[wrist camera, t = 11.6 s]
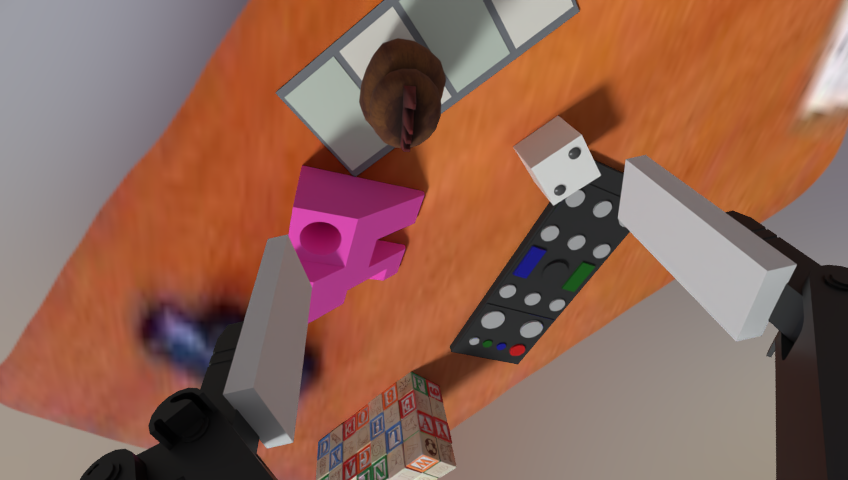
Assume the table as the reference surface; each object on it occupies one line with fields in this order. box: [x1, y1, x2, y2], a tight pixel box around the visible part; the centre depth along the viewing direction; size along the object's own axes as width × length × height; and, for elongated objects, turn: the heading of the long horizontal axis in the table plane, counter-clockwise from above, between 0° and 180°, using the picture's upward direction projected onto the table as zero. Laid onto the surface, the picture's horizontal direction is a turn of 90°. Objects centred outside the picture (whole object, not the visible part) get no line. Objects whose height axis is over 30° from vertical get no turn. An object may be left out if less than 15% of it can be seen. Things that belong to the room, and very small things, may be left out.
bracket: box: [288, 165, 424, 323], centre depth 39 cm, size 12×10×10 cm
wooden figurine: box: [359, 38, 446, 152], centre depth 28 cm, size 7×6×15 cm
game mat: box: [276, 0, 580, 177], centre depth 34 cm, size 24×10×1 cm, turn 125°
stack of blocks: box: [316, 372, 456, 480], centre depth 58 cm, size 21×6×12 cm, turn 134°
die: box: [513, 116, 601, 206], centre depth 39 cm, size 5×5×5 cm
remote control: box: [450, 160, 630, 364], centre depth 51 cm, size 11×30×2 cm, turn 155°
